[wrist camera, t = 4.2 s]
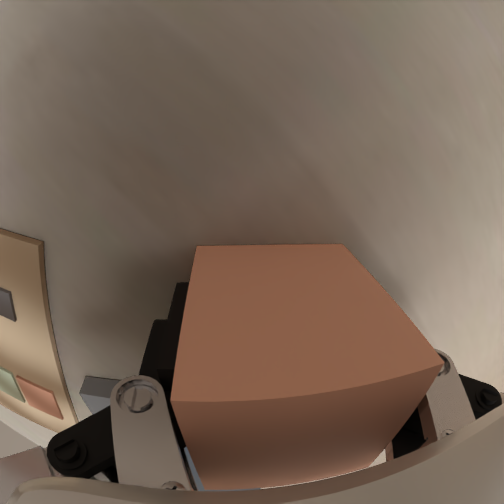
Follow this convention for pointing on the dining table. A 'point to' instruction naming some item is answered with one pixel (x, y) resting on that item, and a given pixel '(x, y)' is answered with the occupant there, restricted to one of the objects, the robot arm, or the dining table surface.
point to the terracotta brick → (292, 365)
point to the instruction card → (29, 338)
